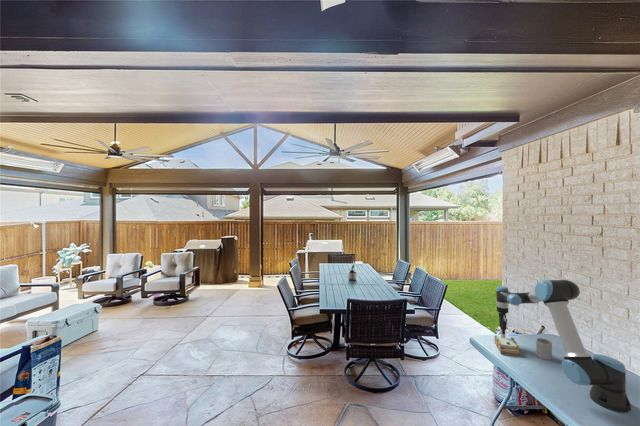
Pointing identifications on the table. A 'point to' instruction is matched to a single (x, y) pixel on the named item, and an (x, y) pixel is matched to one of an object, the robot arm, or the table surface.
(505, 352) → the wooden slatted rack
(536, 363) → the table surface
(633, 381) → the table surface
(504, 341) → the lid
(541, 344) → the mug
